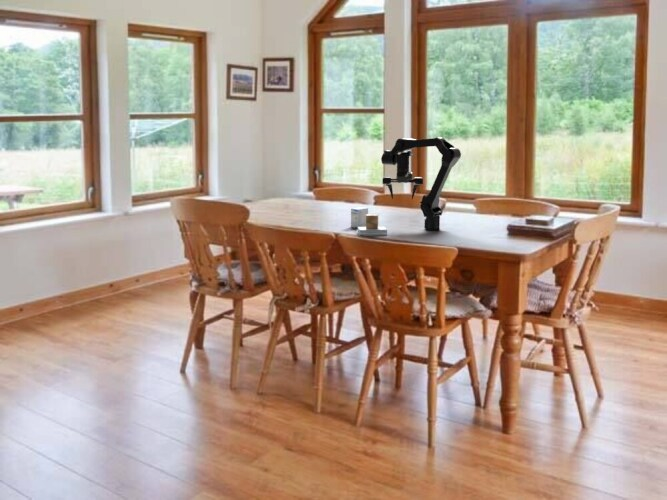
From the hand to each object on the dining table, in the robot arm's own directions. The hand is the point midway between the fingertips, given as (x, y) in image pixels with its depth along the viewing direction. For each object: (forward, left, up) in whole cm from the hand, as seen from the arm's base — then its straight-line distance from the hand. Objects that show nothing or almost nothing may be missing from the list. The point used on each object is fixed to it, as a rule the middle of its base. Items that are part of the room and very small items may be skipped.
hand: (402, 198), depth 359 cm
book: (+13, +22, -14) cm, 29 cm away
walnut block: (+13, +22, -11) cm, 28 cm away
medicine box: (+20, +2, -13) cm, 24 cm away
